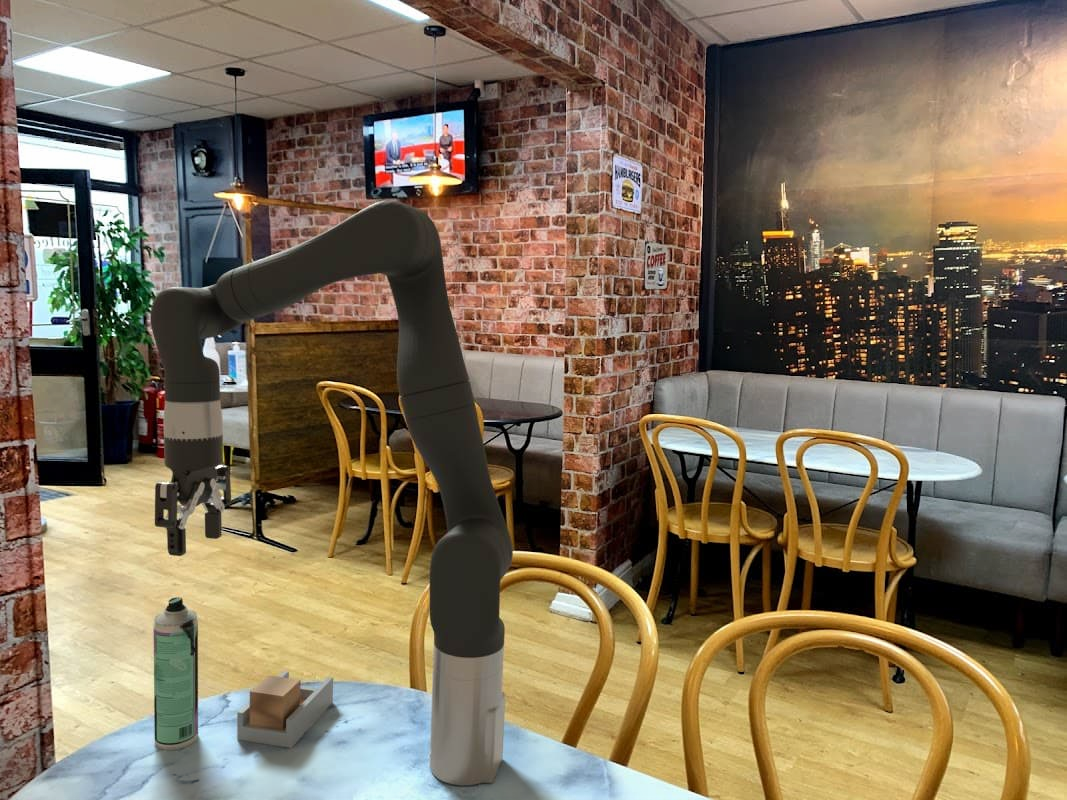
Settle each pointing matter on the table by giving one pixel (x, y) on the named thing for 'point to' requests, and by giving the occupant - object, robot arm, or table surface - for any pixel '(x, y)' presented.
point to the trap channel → (296, 723)
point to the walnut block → (274, 702)
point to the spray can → (175, 676)
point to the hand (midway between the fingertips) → (196, 546)
